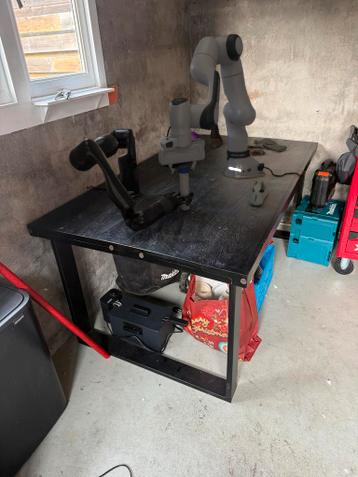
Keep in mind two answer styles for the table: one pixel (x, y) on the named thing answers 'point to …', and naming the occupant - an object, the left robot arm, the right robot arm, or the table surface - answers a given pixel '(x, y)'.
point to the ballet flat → (258, 193)
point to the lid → (183, 169)
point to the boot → (215, 137)
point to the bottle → (184, 188)
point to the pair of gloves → (267, 144)
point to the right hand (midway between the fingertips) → (182, 171)
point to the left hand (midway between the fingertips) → (188, 193)
